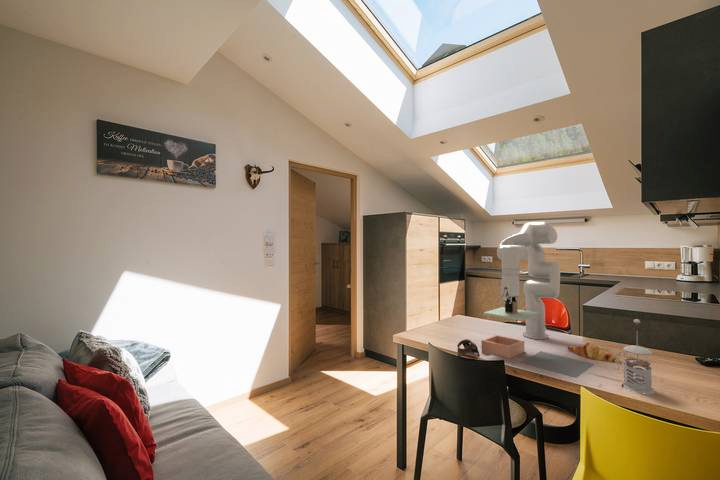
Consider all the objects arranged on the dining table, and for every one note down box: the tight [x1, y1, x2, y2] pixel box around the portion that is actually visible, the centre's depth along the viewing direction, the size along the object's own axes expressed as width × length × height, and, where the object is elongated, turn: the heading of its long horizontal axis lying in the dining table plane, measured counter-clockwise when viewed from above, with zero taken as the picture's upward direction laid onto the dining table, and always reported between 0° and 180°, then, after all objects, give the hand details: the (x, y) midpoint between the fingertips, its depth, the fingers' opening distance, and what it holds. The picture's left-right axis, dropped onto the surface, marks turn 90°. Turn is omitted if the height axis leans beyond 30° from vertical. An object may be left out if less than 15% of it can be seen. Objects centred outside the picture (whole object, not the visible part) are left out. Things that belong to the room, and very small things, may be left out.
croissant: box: [567, 342, 622, 364], centre depth 154 cm, size 21×10×8 cm, turn 37°
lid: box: [483, 301, 539, 322], centre depth 160 cm, size 18×18×6 cm
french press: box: [615, 318, 656, 395], centre depth 124 cm, size 10×12×25 cm
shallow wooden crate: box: [481, 334, 525, 359], centre depth 163 cm, size 14×14×6 cm
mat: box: [518, 351, 596, 379], centre depth 146 cm, size 22×22×1 cm
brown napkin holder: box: [456, 339, 480, 357], centre depth 161 cm, size 12×9×8 cm
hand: (511, 310), depth 160 cm, fingers closed on lid, 4 cm apart
